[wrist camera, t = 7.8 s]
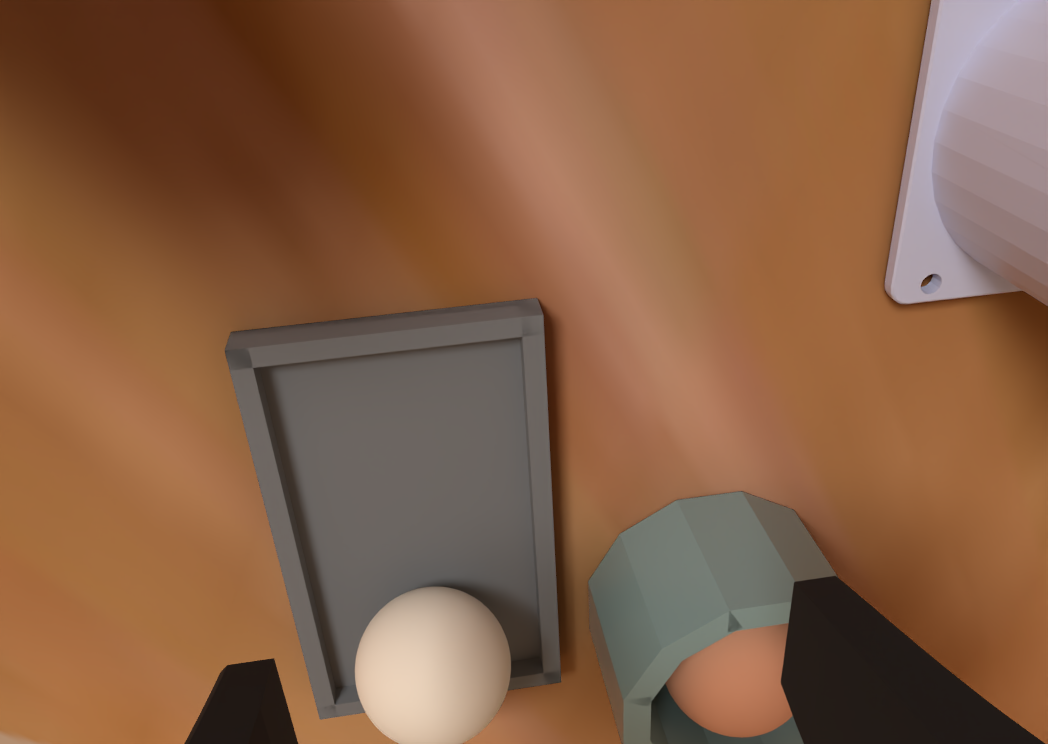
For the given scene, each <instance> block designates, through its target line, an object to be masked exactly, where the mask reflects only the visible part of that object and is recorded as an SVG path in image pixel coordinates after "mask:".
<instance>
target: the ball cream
mask: <svg viewBox="0 0 1048 744" xmlns="http://www.w3.org/2000/svg"><path fill="white" fill-rule="evenodd" d="M510 674H511V657H510V650H509V646H508V642H507V639H506V636H505V633H504V631H503V629H502V627H501V625H500V623H499V622H498V620H497V619H496V617H495V616H494V615H493V613H492V612H491V611H490V610H489V609H488V608H487V607H486V606H485V605H484V604H483V603H481V602H480V601H479V600H477V599H476V598H474V597H473V596H471V595H469V594H467V593H465V592H463V591H460V590H457V589H452V588H448V587H436V586H432V587H423V588H418V589H415V590H411V591H409V592H406V593H404V594H402V595H400V596H398V597H396V598H394V599H393V600H391V601H390V602H389V603H387V604H386V605H385V606H384V607H383V608H382V609H381V610H379V612H378V613H377V614H376V615H375V616H374V618H373V619H372V620H371V621H370V623H369V625H368V626H367V628H366V630H365V632H364V634H363V636H362V638H361V640H360V643H359V647H358V650H357V654H356V662H355V681H356V688H357V692H358V696H359V699H360V702H361V704H362V706H363V708H364V710H365V712H366V714H367V715H368V717H369V718H370V720H371V721H372V723H373V724H374V725H375V726H376V727H377V728H378V729H379V730H380V731H381V732H382V733H383V734H384V735H386V736H387V737H389V738H390V739H392V740H393V741H395V742H397V743H399V744H462V743H464V742H466V741H468V740H470V739H471V738H473V737H474V736H476V735H477V734H478V733H480V732H481V731H482V730H483V729H484V728H485V727H486V726H487V725H488V724H489V723H490V722H491V721H492V719H493V718H494V717H495V715H496V714H497V712H498V711H499V709H500V707H501V705H502V703H503V701H504V699H505V696H506V693H507V690H508V686H509V681H510Z"/></svg>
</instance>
